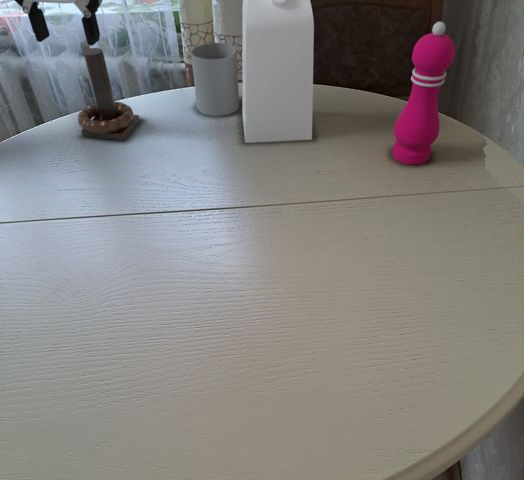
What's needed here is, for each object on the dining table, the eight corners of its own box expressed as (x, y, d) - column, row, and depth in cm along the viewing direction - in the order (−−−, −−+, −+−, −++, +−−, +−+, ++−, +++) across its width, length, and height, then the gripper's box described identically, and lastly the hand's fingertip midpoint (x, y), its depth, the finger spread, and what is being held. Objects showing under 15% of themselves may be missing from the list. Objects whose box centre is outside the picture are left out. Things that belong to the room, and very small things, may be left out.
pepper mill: (380, 156, 86) (404, 22, 71) (405, 141, 89) (432, 10, 74) (416, 171, 82) (449, 34, 67) (440, 155, 86) (476, 21, 70)
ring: (70, 132, 91) (66, 121, 89) (94, 108, 97) (92, 97, 96) (121, 137, 89) (118, 126, 88) (142, 112, 95) (140, 102, 94)
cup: (191, 113, 98) (184, 57, 90) (204, 95, 103) (199, 41, 95) (233, 117, 96) (229, 61, 89) (244, 99, 101) (241, 44, 94)
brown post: (83, 136, 92) (59, 58, 82) (101, 117, 97) (82, 41, 87) (123, 141, 91) (104, 62, 81) (140, 121, 96) (124, 44, 86)
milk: (303, 110, 97) (311, -59, 78) (311, 139, 90) (322, -40, 70) (242, 114, 97) (234, -56, 77) (245, 142, 90) (237, -37, 70)
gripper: (-40, -93, 69) (10, 45, 83) (74, -90, 67) (107, 52, 80) (-9, -103, 74) (33, 30, 87) (98, -100, 71) (125, 36, 85)
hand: (68, 40), depth 83 cm, fingers open, 8 cm apart
